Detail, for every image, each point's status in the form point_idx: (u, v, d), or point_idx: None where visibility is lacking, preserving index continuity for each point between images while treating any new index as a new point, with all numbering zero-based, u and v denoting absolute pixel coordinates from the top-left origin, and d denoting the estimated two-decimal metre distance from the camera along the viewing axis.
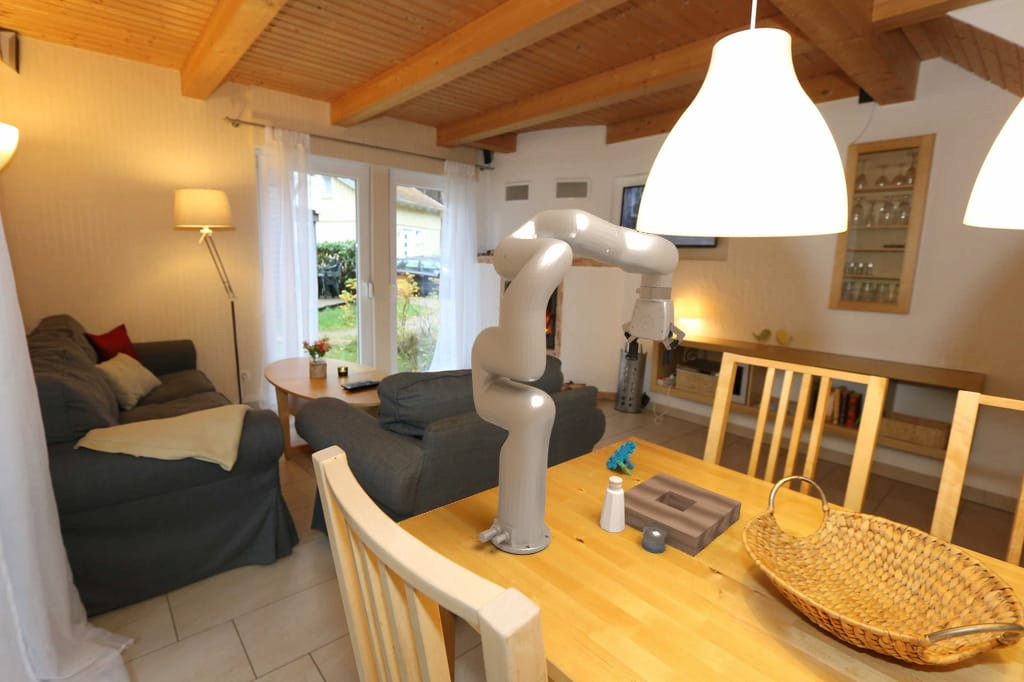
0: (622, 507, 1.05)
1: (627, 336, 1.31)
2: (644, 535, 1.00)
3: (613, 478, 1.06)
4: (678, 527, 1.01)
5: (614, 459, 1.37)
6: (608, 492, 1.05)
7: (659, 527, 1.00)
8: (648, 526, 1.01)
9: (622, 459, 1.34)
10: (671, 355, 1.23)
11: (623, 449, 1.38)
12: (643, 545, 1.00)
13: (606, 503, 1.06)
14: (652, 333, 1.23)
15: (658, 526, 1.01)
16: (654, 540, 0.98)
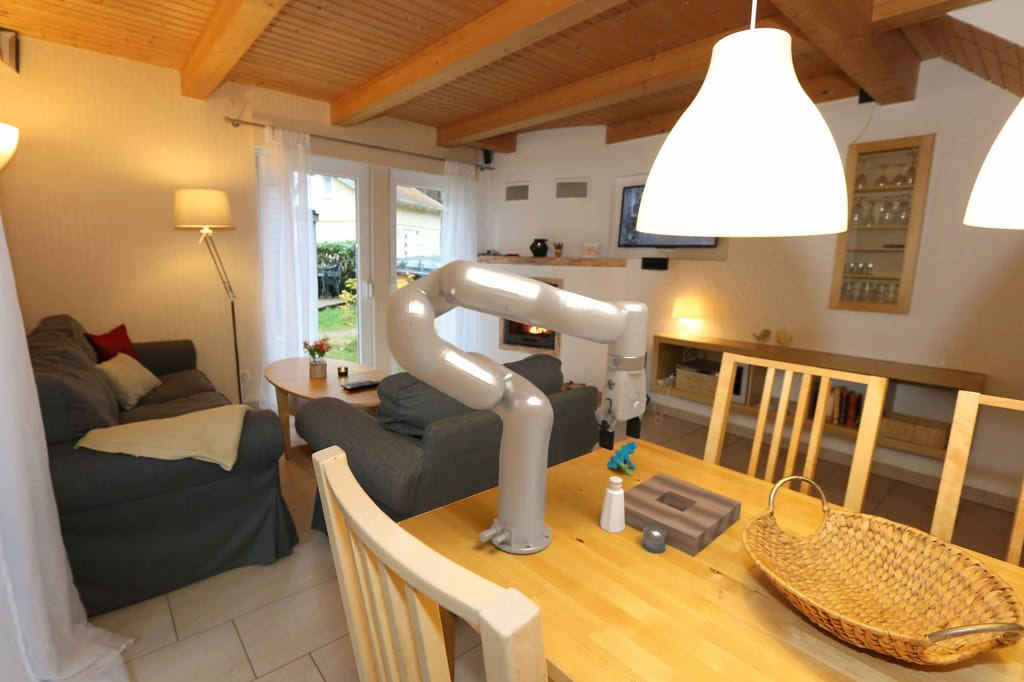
0: (622, 507, 1.05)
1: (606, 425, 0.98)
2: (644, 535, 1.00)
3: (613, 478, 1.06)
4: (678, 527, 1.01)
5: (615, 459, 1.37)
6: (608, 492, 1.05)
7: (659, 527, 1.00)
8: (648, 526, 1.01)
9: (622, 459, 1.34)
10: None
11: (624, 449, 1.38)
12: (643, 545, 1.00)
13: (606, 503, 1.06)
14: (638, 408, 1.02)
15: (658, 526, 1.01)
16: (654, 540, 0.98)
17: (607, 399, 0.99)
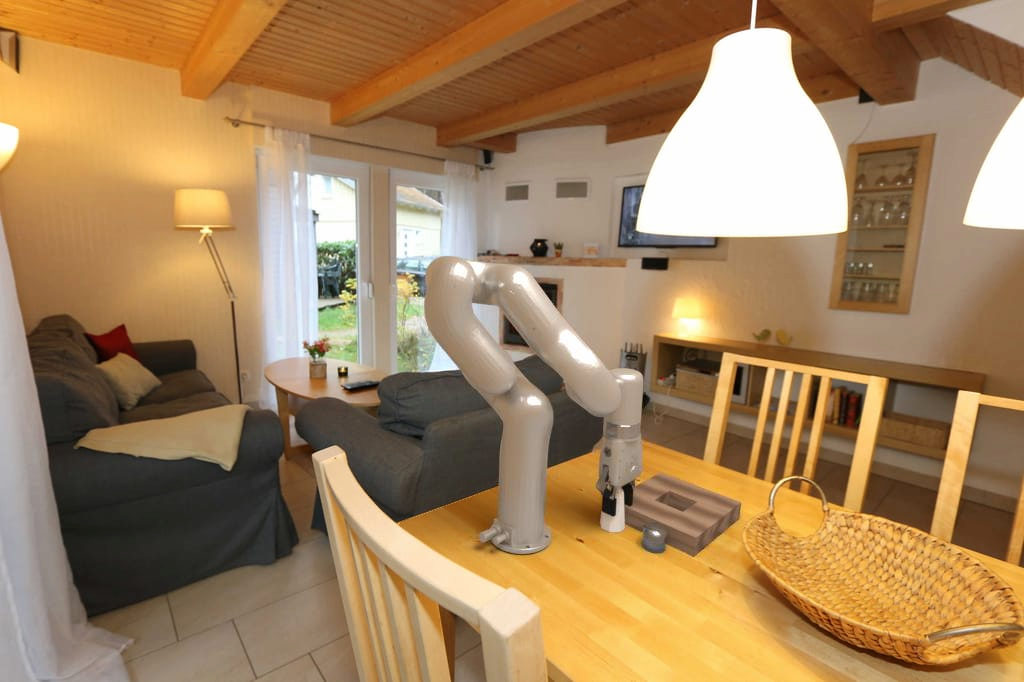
0: (622, 507, 1.05)
1: (608, 493, 1.02)
2: (644, 535, 1.00)
3: None
4: (678, 527, 1.01)
5: None
6: None
7: (659, 527, 1.00)
8: (648, 526, 1.01)
9: None
10: None
11: None
12: (643, 545, 1.00)
13: None
14: (635, 472, 1.05)
15: (658, 526, 1.01)
16: (654, 540, 0.98)
17: (604, 468, 1.02)
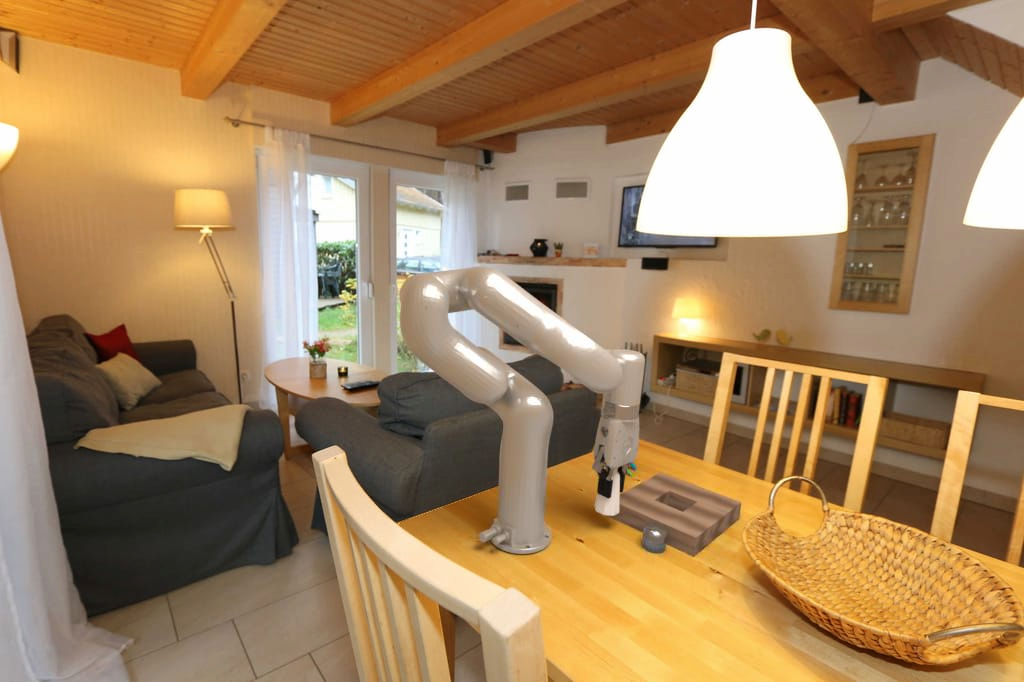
0: (617, 490, 1.05)
1: (605, 474, 1.02)
2: (644, 535, 1.00)
3: None
4: (678, 527, 1.01)
5: None
6: None
7: (659, 527, 1.00)
8: (648, 526, 1.01)
9: None
10: None
11: None
12: (643, 545, 1.00)
13: None
14: (631, 455, 1.04)
15: (658, 526, 1.01)
16: (654, 540, 0.98)
17: (600, 449, 1.01)
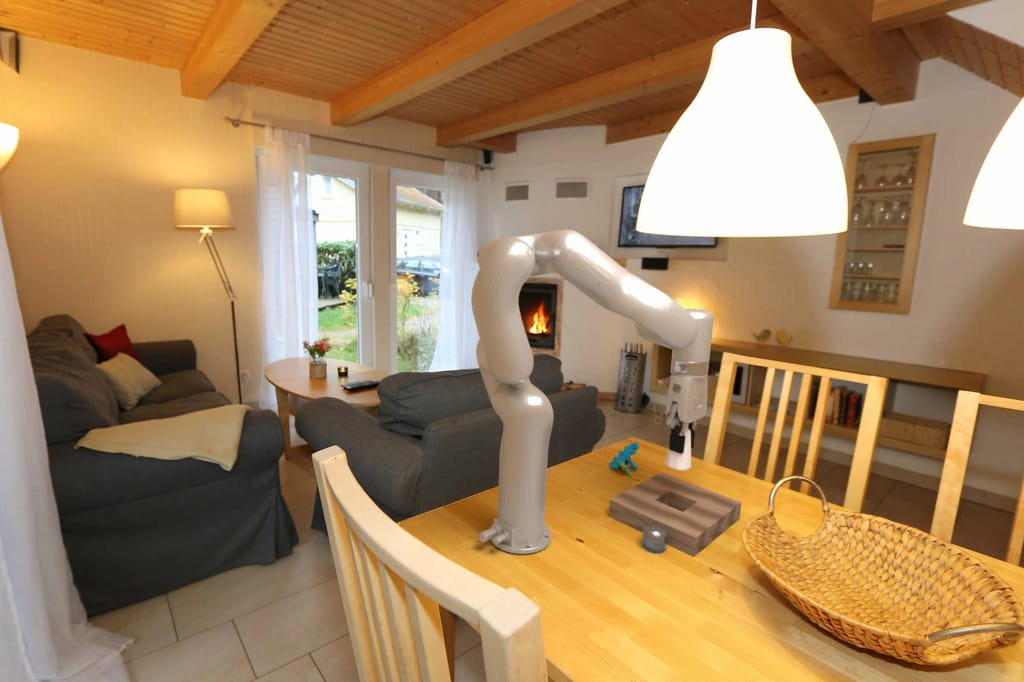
0: (689, 445, 1.08)
1: (678, 429, 1.05)
2: (644, 535, 1.00)
3: None
4: (678, 527, 1.01)
5: (617, 459, 1.37)
6: None
7: (659, 527, 1.00)
8: (648, 526, 1.01)
9: (624, 459, 1.34)
10: None
11: (626, 450, 1.38)
12: (643, 545, 1.00)
13: None
14: (701, 411, 1.07)
15: (658, 526, 1.01)
16: (654, 540, 0.98)
17: (673, 406, 1.05)
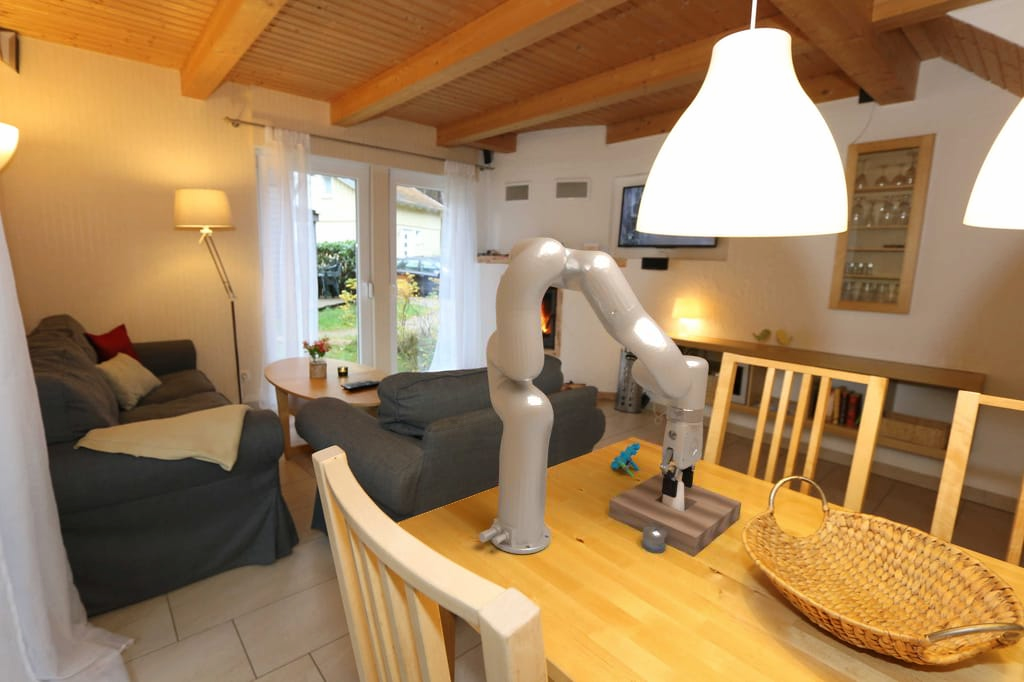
0: (682, 498, 1.10)
1: (670, 475, 1.06)
2: (644, 535, 1.00)
3: (673, 470, 1.11)
4: (678, 527, 1.01)
5: (618, 459, 1.37)
6: None
7: (659, 527, 1.00)
8: (648, 526, 1.01)
9: (624, 460, 1.34)
10: None
11: (628, 450, 1.38)
12: (643, 545, 1.00)
13: None
14: (696, 456, 1.09)
15: (658, 526, 1.01)
16: (654, 540, 0.98)
17: (668, 450, 1.06)
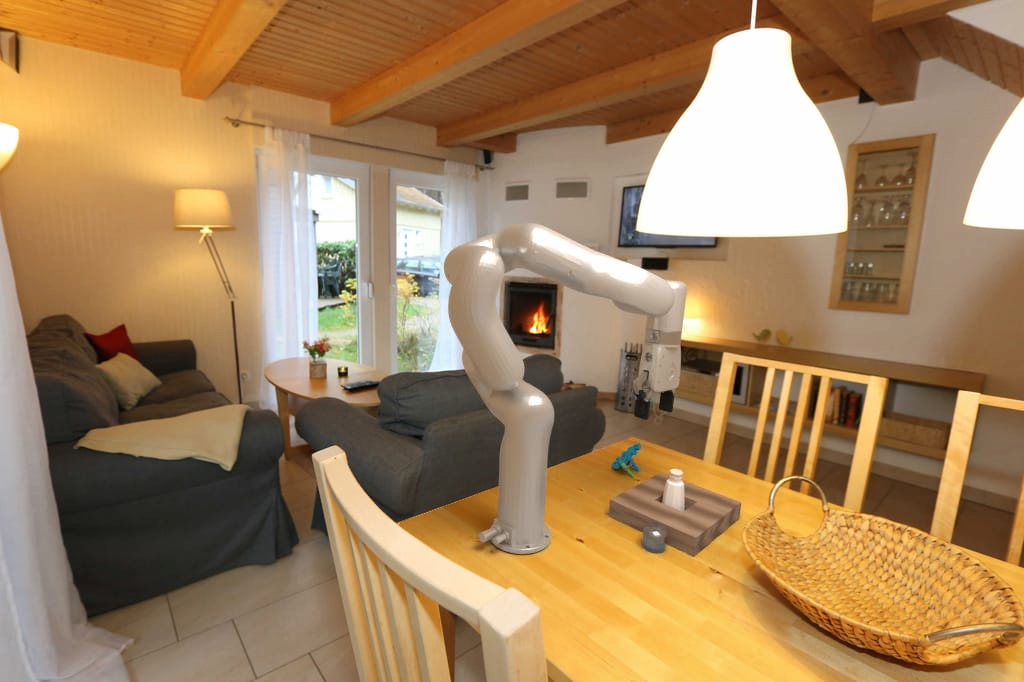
0: (682, 498, 1.10)
1: (642, 394, 1.04)
2: (644, 535, 1.00)
3: (674, 470, 1.11)
4: (678, 527, 1.01)
5: (619, 460, 1.37)
6: (669, 484, 1.10)
7: (659, 527, 1.00)
8: (648, 526, 1.01)
9: (625, 460, 1.33)
10: None
11: (629, 450, 1.37)
12: (643, 545, 1.00)
13: (667, 494, 1.11)
14: (673, 382, 1.08)
15: (658, 526, 1.01)
16: (655, 540, 0.98)
17: (644, 371, 1.05)
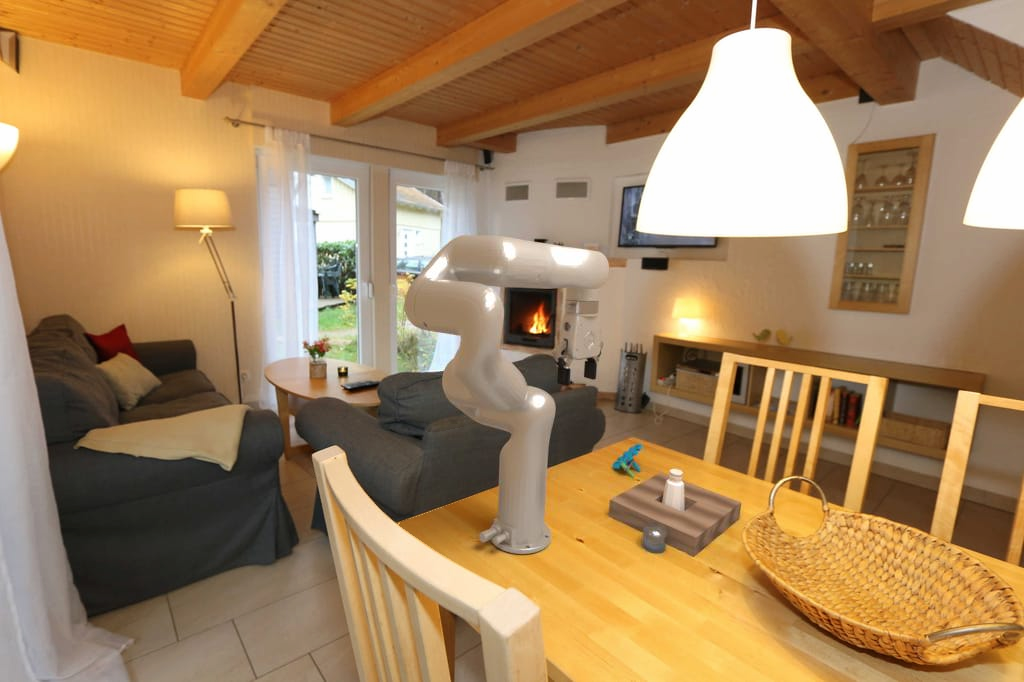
0: (682, 498, 1.10)
1: (562, 362, 1.10)
2: (644, 535, 1.00)
3: (674, 470, 1.11)
4: (678, 527, 1.01)
5: (620, 460, 1.37)
6: (669, 484, 1.10)
7: (659, 527, 1.00)
8: (648, 526, 1.01)
9: (626, 460, 1.33)
10: None
11: (630, 451, 1.37)
12: (643, 545, 1.00)
13: (667, 494, 1.11)
14: (593, 350, 1.14)
15: (658, 526, 1.01)
16: (655, 540, 0.98)
17: (564, 340, 1.11)
